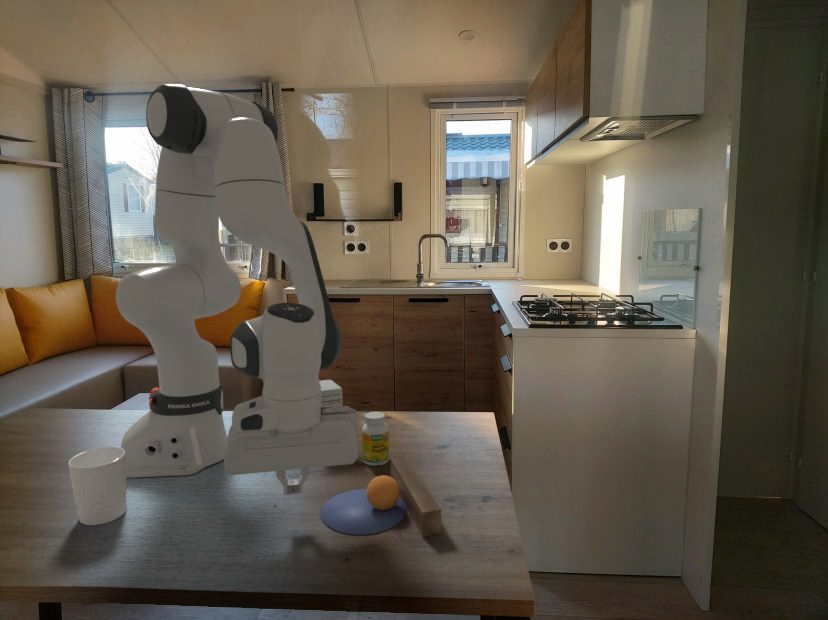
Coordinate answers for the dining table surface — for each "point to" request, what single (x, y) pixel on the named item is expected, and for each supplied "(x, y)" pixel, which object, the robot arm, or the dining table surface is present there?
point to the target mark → (360, 514)
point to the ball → (383, 492)
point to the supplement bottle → (375, 439)
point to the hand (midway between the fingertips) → (293, 492)
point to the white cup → (99, 484)
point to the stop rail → (416, 497)
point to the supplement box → (330, 394)
